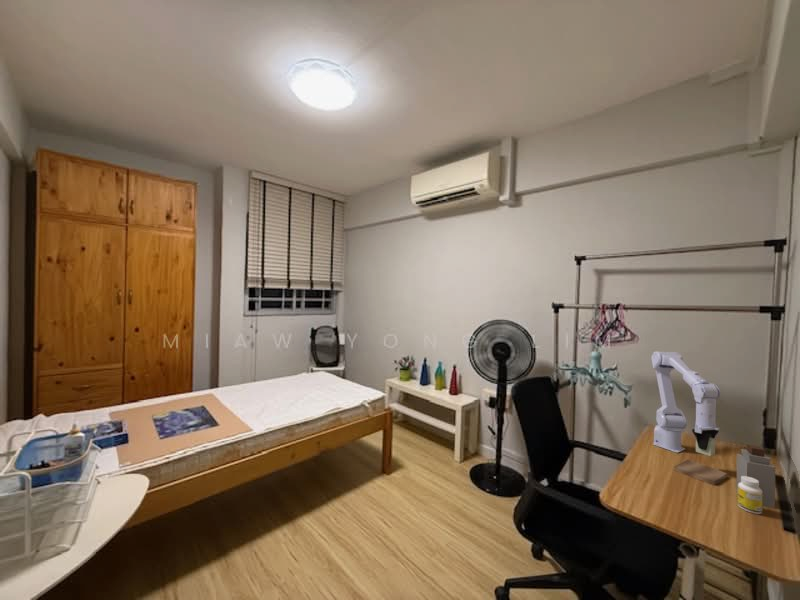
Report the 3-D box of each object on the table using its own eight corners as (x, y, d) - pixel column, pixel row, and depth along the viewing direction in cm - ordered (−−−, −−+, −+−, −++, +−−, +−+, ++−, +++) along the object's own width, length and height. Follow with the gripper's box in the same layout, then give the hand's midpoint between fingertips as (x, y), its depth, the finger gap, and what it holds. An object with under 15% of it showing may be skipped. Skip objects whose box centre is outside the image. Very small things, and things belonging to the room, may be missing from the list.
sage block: (695, 451, 130) (695, 436, 130) (700, 449, 132) (700, 434, 132) (710, 456, 126) (710, 440, 126) (715, 453, 128) (715, 438, 128)
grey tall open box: (736, 491, 115) (737, 441, 115) (762, 497, 112) (763, 445, 112) (746, 502, 108) (747, 449, 108) (774, 508, 105) (775, 453, 105)
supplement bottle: (736, 501, 109) (736, 472, 109) (760, 508, 105) (760, 478, 105) (739, 509, 104) (739, 479, 104) (764, 517, 101) (764, 485, 101)
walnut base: (674, 470, 129) (674, 466, 129) (687, 463, 135) (687, 459, 135) (714, 485, 118) (714, 481, 118) (727, 477, 124) (727, 473, 124)
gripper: (711, 420, 122) (711, 455, 122) (726, 414, 129) (725, 448, 129) (688, 414, 128) (687, 448, 128) (703, 408, 135) (702, 441, 135)
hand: (705, 447), depth 129 cm, fingers closed on sage block, 4 cm apart
